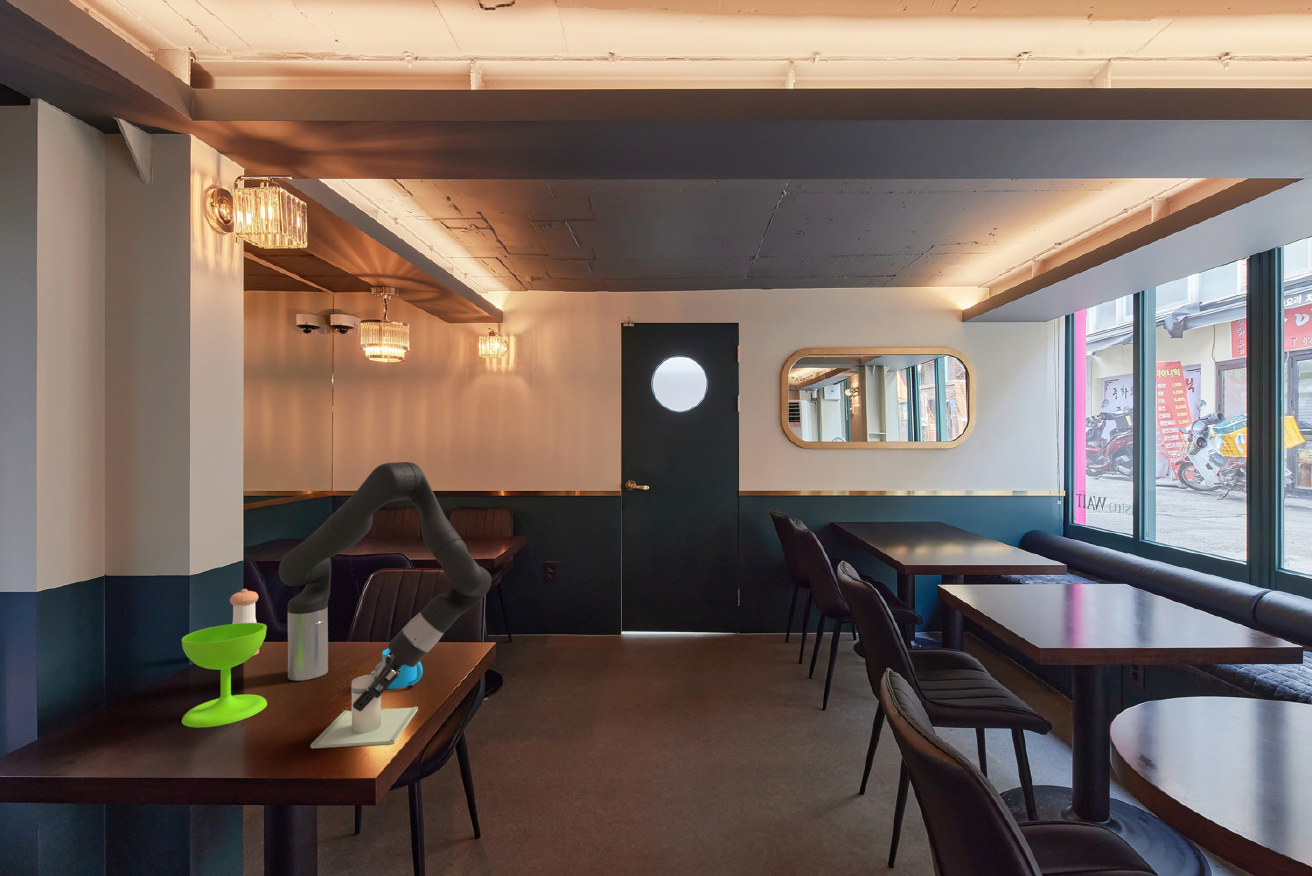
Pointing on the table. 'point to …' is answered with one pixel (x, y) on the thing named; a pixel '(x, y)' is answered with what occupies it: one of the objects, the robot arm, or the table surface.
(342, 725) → the mat
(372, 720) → the cream domed container
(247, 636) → the wineglass
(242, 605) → the salt shaker
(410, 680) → the mug
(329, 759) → the table surface
